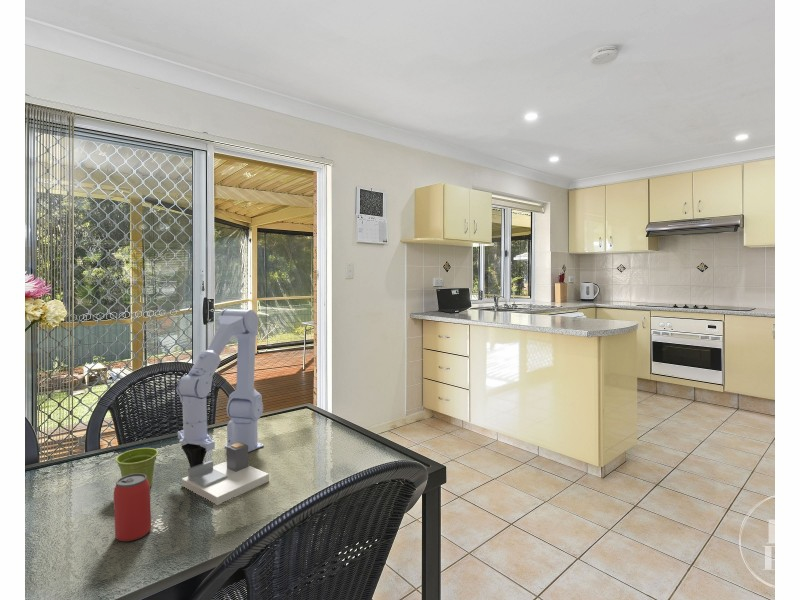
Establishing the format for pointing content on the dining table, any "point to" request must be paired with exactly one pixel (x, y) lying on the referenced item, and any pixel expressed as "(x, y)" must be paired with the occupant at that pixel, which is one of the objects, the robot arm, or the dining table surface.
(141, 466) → the plant pot
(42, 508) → the dining table surface
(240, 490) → the socket board
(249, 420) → the robot arm
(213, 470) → the shutter
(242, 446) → the grey rectangular block
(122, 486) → the beer can
